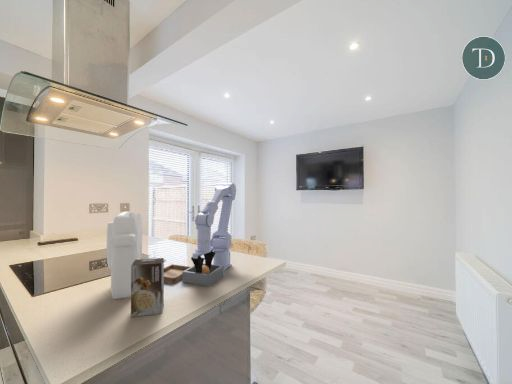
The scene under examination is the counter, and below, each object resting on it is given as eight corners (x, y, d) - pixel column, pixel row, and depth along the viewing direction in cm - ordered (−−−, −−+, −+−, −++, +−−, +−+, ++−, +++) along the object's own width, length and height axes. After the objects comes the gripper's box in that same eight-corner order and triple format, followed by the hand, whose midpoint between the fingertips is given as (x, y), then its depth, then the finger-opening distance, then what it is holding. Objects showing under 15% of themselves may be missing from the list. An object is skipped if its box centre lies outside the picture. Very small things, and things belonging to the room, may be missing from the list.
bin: (199, 272, 109) (199, 262, 109) (223, 275, 105) (223, 265, 105) (182, 282, 97) (182, 271, 97) (208, 286, 93) (209, 275, 93)
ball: (201, 274, 104) (202, 263, 104) (211, 275, 102) (211, 264, 102) (195, 278, 99) (195, 266, 99) (205, 279, 98) (205, 268, 98)
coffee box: (164, 304, 77) (165, 257, 77) (161, 314, 71) (162, 263, 71) (134, 307, 75) (135, 259, 75) (129, 318, 69) (130, 265, 69)
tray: (172, 269, 113) (172, 264, 113) (194, 272, 109) (194, 267, 109) (149, 279, 99) (149, 274, 99) (173, 284, 95) (173, 278, 95)
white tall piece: (115, 278, 100) (116, 210, 101) (143, 275, 104) (144, 210, 104) (96, 307, 75) (97, 216, 75) (134, 301, 79) (135, 215, 79)
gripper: (204, 236, 109) (204, 264, 109) (186, 242, 95) (186, 274, 95) (218, 237, 107) (217, 266, 107) (201, 243, 93) (200, 277, 93)
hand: (203, 270), depth 101 cm, fingers open, 7 cm apart
